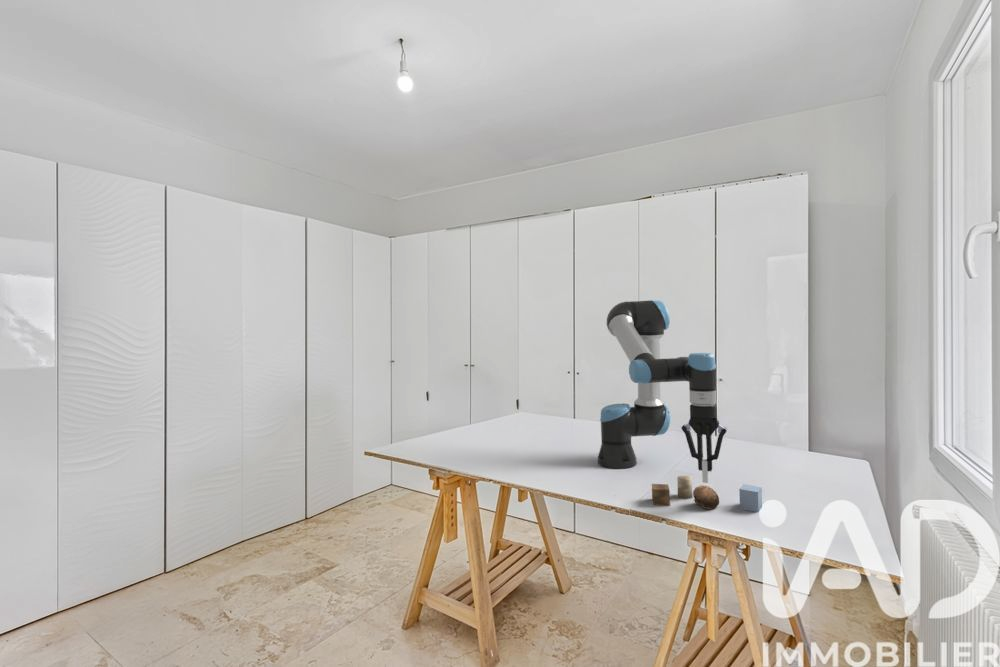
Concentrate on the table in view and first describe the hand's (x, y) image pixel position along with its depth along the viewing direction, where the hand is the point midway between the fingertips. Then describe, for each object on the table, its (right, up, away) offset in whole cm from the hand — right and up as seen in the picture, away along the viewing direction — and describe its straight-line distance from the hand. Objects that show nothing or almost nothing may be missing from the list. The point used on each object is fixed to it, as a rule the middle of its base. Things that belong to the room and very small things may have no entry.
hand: (705, 481), depth 147 cm
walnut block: (-12, -8, +5) cm, 15 cm away
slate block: (+13, -7, -2) cm, 15 cm away
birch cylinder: (-3, -8, +9) cm, 12 cm away
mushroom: (0, -8, 0) cm, 8 cm away
